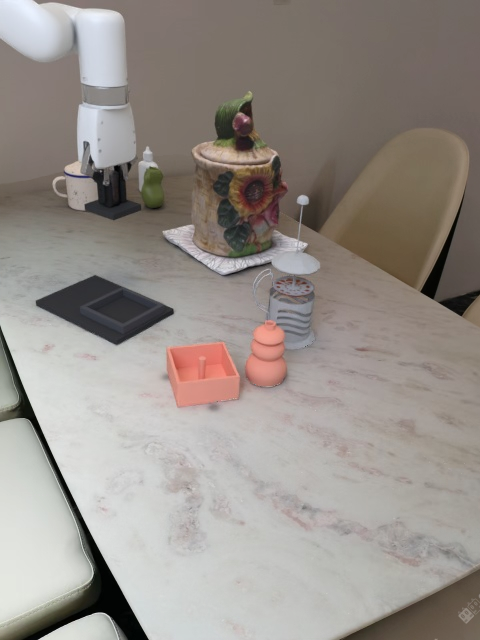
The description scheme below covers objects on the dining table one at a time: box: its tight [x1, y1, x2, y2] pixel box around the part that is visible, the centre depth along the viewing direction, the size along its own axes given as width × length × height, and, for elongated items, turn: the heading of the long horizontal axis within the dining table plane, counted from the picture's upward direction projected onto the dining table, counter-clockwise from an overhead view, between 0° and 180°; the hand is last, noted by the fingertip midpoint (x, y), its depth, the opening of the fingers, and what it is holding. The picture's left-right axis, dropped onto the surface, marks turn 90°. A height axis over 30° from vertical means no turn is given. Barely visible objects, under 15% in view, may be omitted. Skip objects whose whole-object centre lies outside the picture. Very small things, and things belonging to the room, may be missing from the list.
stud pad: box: [84, 169, 142, 221], centre depth 108 cm, size 7×7×7 cm
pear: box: [140, 166, 165, 209], centre depth 148 cm, size 6×5×10 cm
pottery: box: [165, 320, 288, 408], centre depth 89 cm, size 18×10×10 cm, turn 107°
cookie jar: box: [162, 91, 309, 276], centre depth 126 cm, size 25×25×32 cm
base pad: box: [35, 274, 175, 346], centre depth 106 cm, size 20×14×2 cm
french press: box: [252, 194, 321, 351], centre depth 98 cm, size 10×12×25 cm
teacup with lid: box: [52, 157, 102, 212], centre depth 144 cm, size 12×9×12 cm
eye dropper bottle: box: [137, 146, 159, 193], centre depth 156 cm, size 4×6×12 cm
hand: (112, 202), depth 109 cm, fingers closed on stud pad, 2 cm apart
